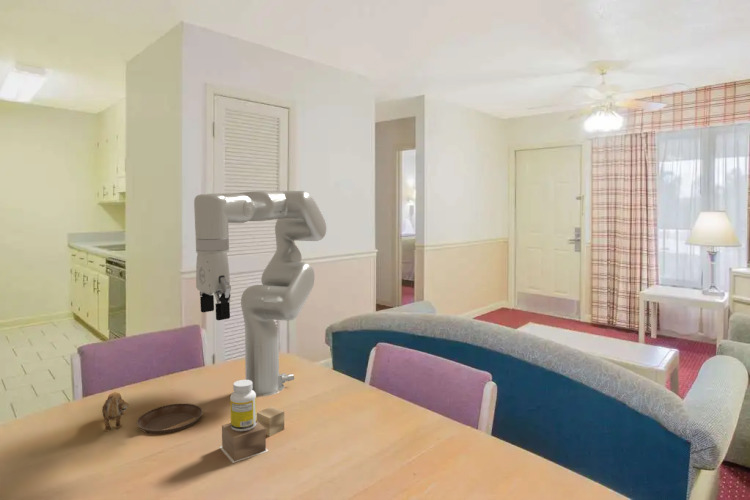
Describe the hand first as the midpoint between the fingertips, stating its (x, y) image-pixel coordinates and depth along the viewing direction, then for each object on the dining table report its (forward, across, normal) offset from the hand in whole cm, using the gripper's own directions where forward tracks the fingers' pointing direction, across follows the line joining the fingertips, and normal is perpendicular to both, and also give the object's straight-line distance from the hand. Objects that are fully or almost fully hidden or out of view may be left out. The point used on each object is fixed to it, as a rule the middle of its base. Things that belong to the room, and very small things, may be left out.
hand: (215, 315), depth 112 cm
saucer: (+28, -6, -10) cm, 30 cm away
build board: (+27, +18, 0) cm, 33 cm away
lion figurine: (+28, -15, -20) cm, 37 cm away
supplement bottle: (+21, +18, -2) cm, 28 cm away
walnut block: (+26, +18, -2) cm, 32 cm away
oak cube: (+26, +14, +7) cm, 31 cm away
